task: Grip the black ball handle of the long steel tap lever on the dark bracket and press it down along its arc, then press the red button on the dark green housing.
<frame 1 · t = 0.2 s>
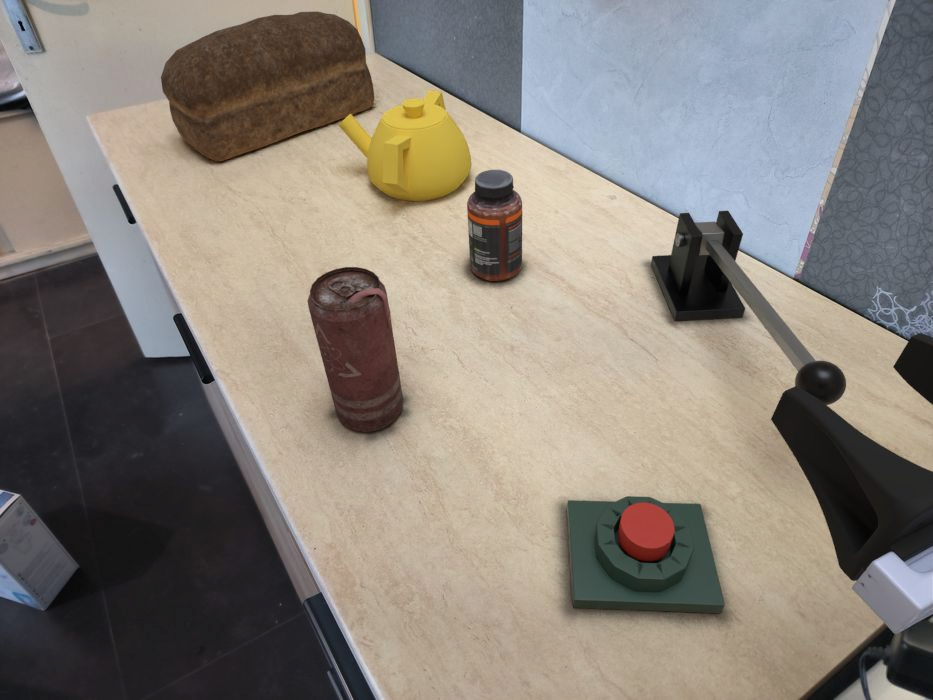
hand: (846, 375, 30), 22 cm above the worktop, tool horizontal, fingers open, 7 cm apart
can: (372, 410, 59), on the worktop
tap lever: (754, 298, 56), point 8 cm above the worktop, hinge at 8.0°
button box: (638, 557, 47), on the worktop
bread: (282, 124, 107), on the worktop
teapot: (407, 179, 91), on the worktop
supplement bottle: (495, 269, 75), on the worktop
button: (645, 531, 45), point 3 cm above the worktop, slide at 0.1 cm
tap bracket: (694, 289, 70), on the worktop
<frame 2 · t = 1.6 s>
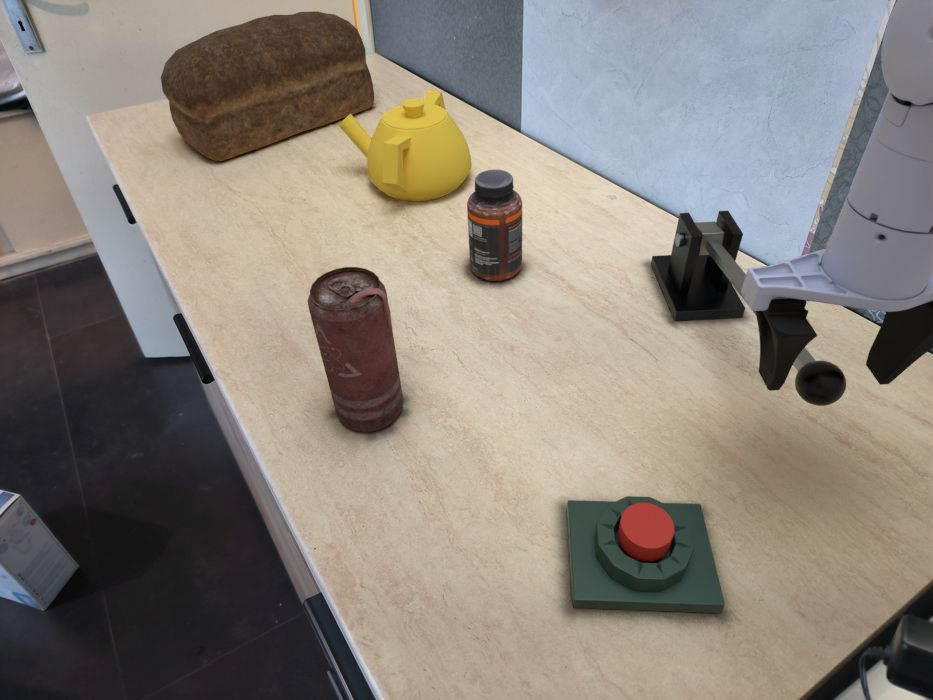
hand: (822, 377, 46), 10 cm above the worktop, tool pointing down, fingers open, 7 cm apart
nothing on the worktop moved.
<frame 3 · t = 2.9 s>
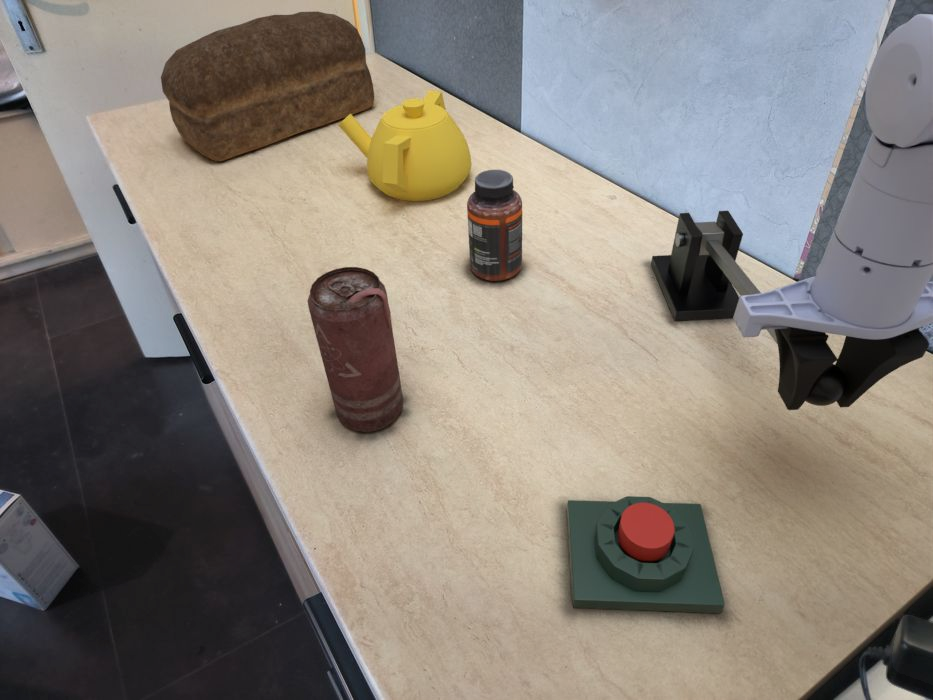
hand: (813, 398, 47), 8 cm above the worktop, tool pointing down, fingers closed on tap lever, 3 cm apart
tap lever: (754, 298, 56), point 8 cm above the worktop, hinge at 8.0°, touching gripper
everything else where it was.
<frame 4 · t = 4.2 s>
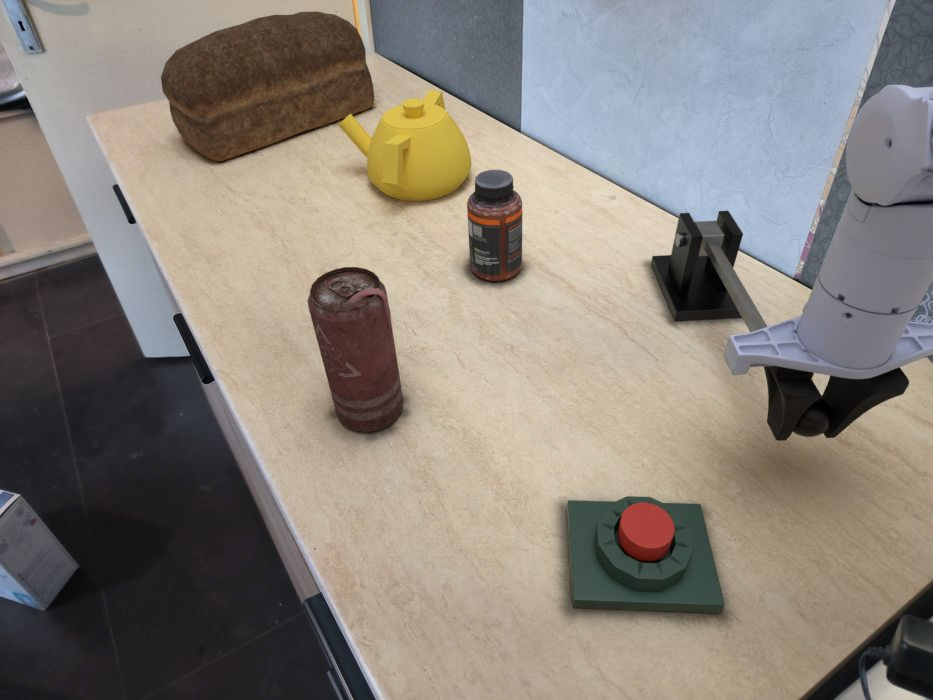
hand: (800, 429, 49), 5 cm above the worktop, tool pointing down, fingers closed on tap lever, 3 cm apart
tap lever: (749, 313, 57), point 7 cm above the worktop, hinge at 0.4°, touching gripper
everything else where it was.
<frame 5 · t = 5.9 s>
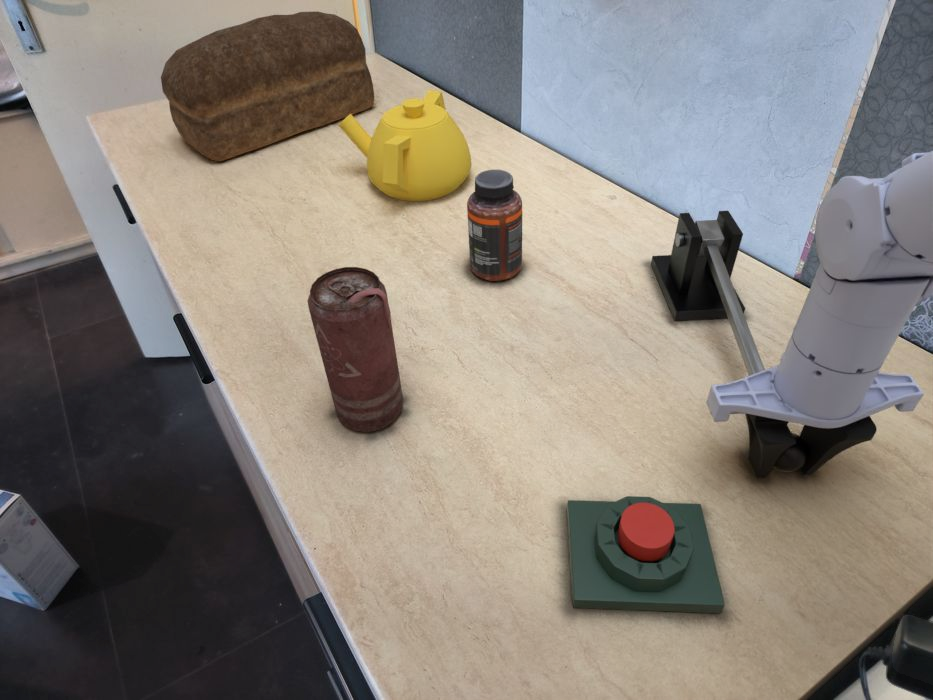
hand: (779, 466, 53), 0 cm above the worktop, tool pointing down, fingers closed on tap lever, 3 cm apart
tap lever: (742, 333, 59), point 4 cm above the worktop, hinge at -11.2°, touching gripper
everything else where it was.
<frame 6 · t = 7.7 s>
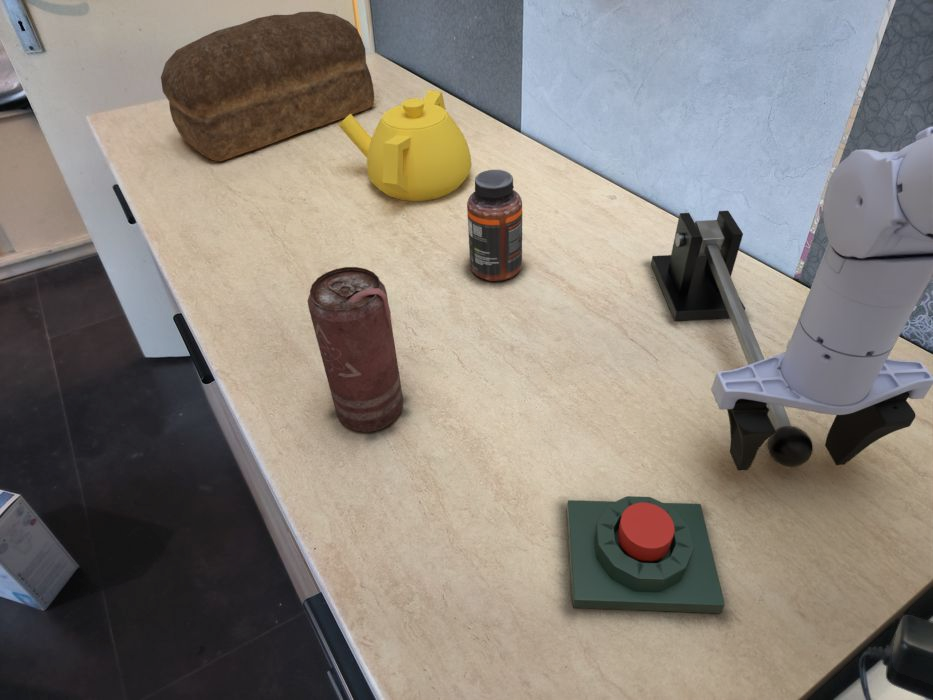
hand: (786, 457, 52), 1 cm above the worktop, tool pointing down, fingers open, 7 cm apart
tap lever: (743, 330, 58), point 5 cm above the worktop, hinge at -9.2°
everything else where it was.
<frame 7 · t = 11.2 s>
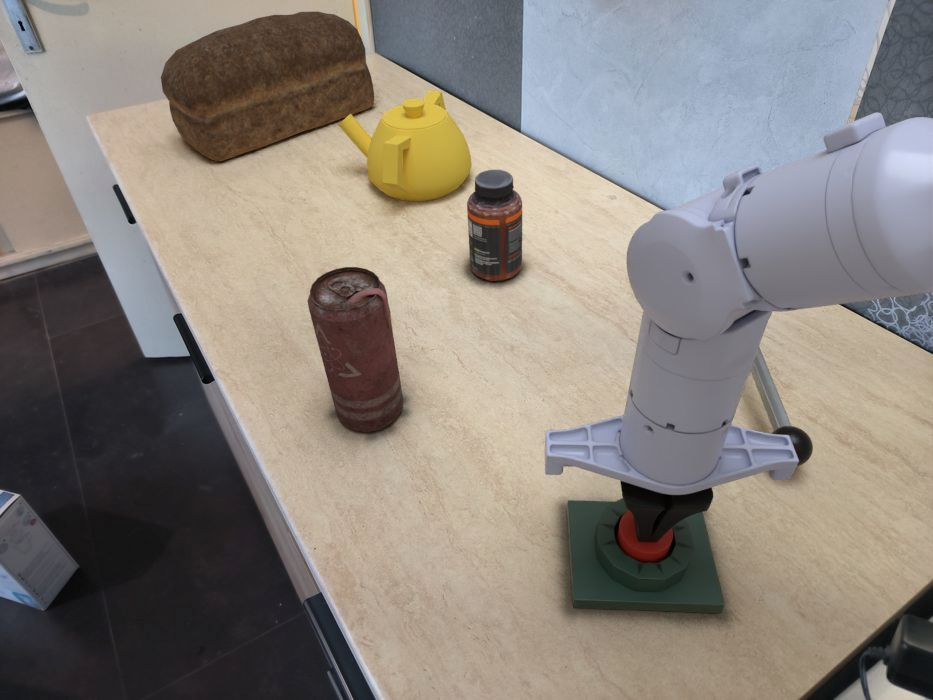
hand: (645, 529, 45), 4 cm above the worktop, tool pointing down, fingers closed, pressing on button
button: (644, 536, 46), point 3 cm above the worktop, slide at -0.5 cm, touching gripper
everything else where it was.
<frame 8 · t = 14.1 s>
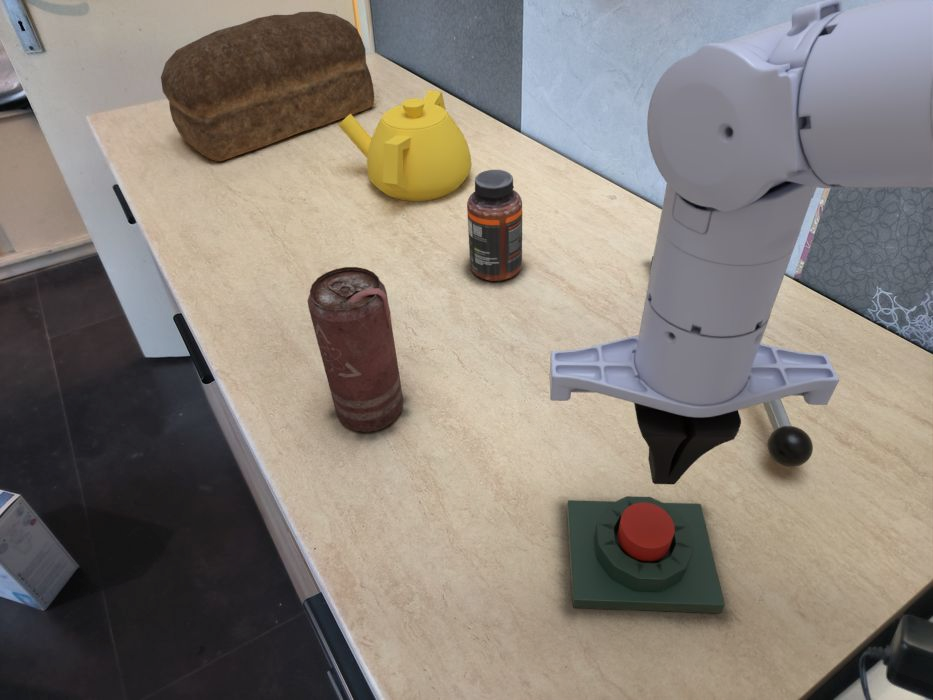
hand: (661, 471, 40), 10 cm above the worktop, tool pointing down, fingers closed
button: (645, 531, 45), point 3 cm above the worktop, slide at 0.1 cm
everything else where it was.
at the end: tap lever at -9° (first picture: +8°); button pushed in 1.2 cm at the most during the clip, back to where it started at the end; button slide at 0.1 cm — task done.
